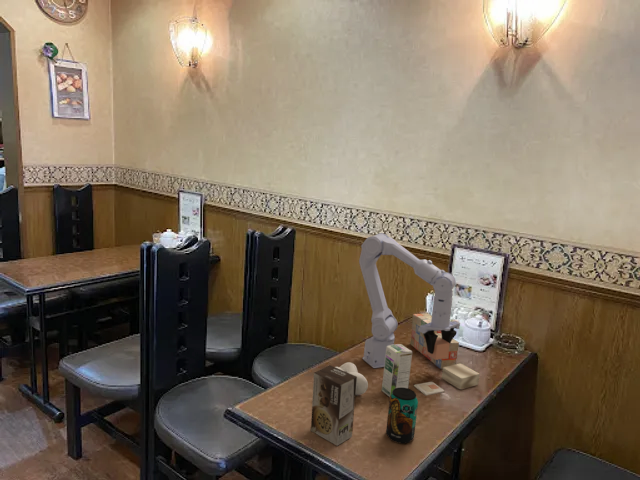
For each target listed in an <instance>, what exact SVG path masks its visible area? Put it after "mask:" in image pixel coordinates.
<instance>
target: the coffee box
mask: <svg viewBox="0 0 640 480" xmlns="http://www.w3.org/2000/svg"><path fill="white" fill-rule="evenodd" d="M335 367H336V366H334V365H331V364H329V365H327V366H324V367H322V368H321V369H319V370H316V371H315V372H313V384H312V400H311V402H312V403H311V404H312V406H311V422H310V432H312V433H314V434H315V433H316V435H317V436H319V437H321V438H322V439H325V440H326V441H327V442H330V443H331V444H333V445H335V446H336V447H338V446H339V445H341V444H342V443H344V442H346V441H347V440H349V439H351V438H352V437H353V428H354V415H355V407H356V405H355V404H356V395H355V393H356V381H357V377H356V376H354V375H352V374H349V373H347V372H345V371H342V370H340V369H338V368H335Z"/></svg>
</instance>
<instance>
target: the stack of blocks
mask: <svg viewBox="0 0 640 480" xmlns="http://www.w3.org/2000/svg"><path fill="white" fill-rule="evenodd" d="M431 320H432V314H430V313H426V312H425V313H414V314H412V322H411V323H412V324H411V336H410V345H411V346H412V347H413V348H414V349H416V350H417V352H420V354H421V355H423V356H424V357H426V359H428V360H430V362H431V363H433V364H434V366H436V367H437V368H439V369H440V370H443V368H444V367H448V366H452V365H456V364H457V359H458V351H459V347H460V346H459V345H460V342H459V341H458V340H456V339H455V338H453V339H452V341H451V343H450V345H449V353H448V358H444V359H438V360H435V359H433V358H432V357H430V356H429V355H427V354H426V346H427V344H426V340H425V337H424V335H423V333H421V332H420V331H419V330H420V326H421V325H425V324H427V323H430V322H431ZM434 333H435V334H436V335H438V337H440V338H442V335H441V330H439V331H434ZM438 337H437V338H438Z"/></svg>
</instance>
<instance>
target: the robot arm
mask: <svg viewBox="0 0 640 480" xmlns="http://www.w3.org/2000/svg"><path fill="white" fill-rule="evenodd" d="M360 246H361V251H360V256H359V260H358V261H359V262H358V263H359V267H360V270H361V273H362V277H363V281H364V285H365V289H366V292H367V296H368V300H369V303H370V308H371V310H372V315H371V319H370V321H371V323H372V324H371V334H372V336H371V337H369V338H367V339H366V340H365V342H364V349H363V350H364V351H363V357H362V360H363V361H364V362H366V363H367V364H368V365H369V366H370V367H371V368H373V369H379V368H384V365H385V356H386V347H387V346H389V345H395V332H396V331H397V329H398V326H399V325H398V320H397V319H396V317H395V316H394V314H393V312H392V310H391V309H390V308H389V307H388V303H387V299H386V297H385V293H384V289H383V285H382V281H381V278H380V274H379V271H378V267H377V262H378V260H379V259H380V257H381V256H394V257H395V258H397V259H399V260H400V261H401V262H403V263H404V264H406V265H408V266H409V267H411V268H413V271H414V275H416V276H418V277H419V278H420V279H422V280H423V281H424V282H426V283H428V284H429V285H431V286H432V287H433V290H434V296H433V303H432V312H431V316H432V320H431V322H430V323H427V324H425V325H421V326H420V330H419V331H420V332H421V333H423V335H424V337H425V340H426V344H427V350H428V352H429V353H431V354H433V352H434V347H435V342H436V339H437V337H438V335H436V334H435V333H434V331H439V330H441V335H442V339H443V340H445V341H447V342H449V343H451V341H452V339H455V337H456V336H457V332H458V331H457V330H459V329H460V327H461V323H460V322H458V321H451V316H452V315H451V314H452V306H453V296H454V293H453V292H454V290H453V289H454V288H455V286H456V283H457V282H456V278H455V276H453V274H451V272H446V271H445V270H444V269H440V268H439V267H437V266H436V265H434V264H433V261H432V260H431V259H429V260H427V259H425V258H424V259H419V258H418V257H417V256H416V255H414V254H413V253H412V252H411V251H409V250H408V249H406V248H405V247H404V246H402V244H400V243H398V241H397V240H395V239H394V238H393V237H390V236H388V235H387V234H386V233H383V232H379V233H377V234H374V235H371V236H368V237H367V238H366V239H365V240H364V241H363V243H361V245H360ZM455 329H456V330H455Z"/></svg>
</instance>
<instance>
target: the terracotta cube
mask: <svg viewBox="0 0 640 480" xmlns="http://www.w3.org/2000/svg"><path fill="white" fill-rule="evenodd" d="M449 345H450V343H449V342H447V341H445V340H443V339H442V338H440V337H438V338H437V339H436V342H435V347H434V352H433V354H431V353H429V352H428V350H427V346H426V354H427V355H429V356H430V357H432V358H433V359H435V360H438V359H444V358H448V353H449Z"/></svg>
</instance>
